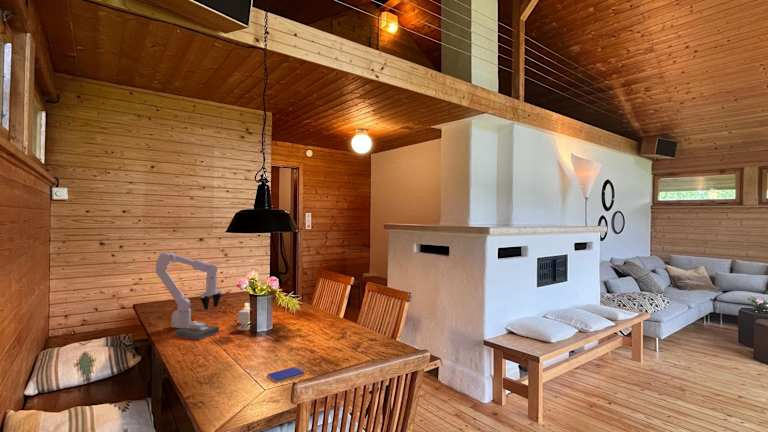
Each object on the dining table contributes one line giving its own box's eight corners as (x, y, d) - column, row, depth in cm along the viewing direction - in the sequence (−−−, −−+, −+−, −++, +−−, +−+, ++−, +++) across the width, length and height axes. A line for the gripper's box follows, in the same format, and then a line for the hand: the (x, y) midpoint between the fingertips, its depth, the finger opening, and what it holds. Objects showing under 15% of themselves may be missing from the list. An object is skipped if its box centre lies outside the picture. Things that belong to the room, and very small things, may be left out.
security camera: (252, 327, 226) (253, 309, 226) (247, 330, 219) (247, 312, 219) (242, 326, 227) (242, 309, 227) (236, 329, 220) (236, 312, 220)
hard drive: (295, 366, 166) (267, 373, 158) (304, 372, 160) (276, 380, 152) (294, 369, 166) (267, 377, 158) (304, 376, 160) (275, 384, 152)
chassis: (174, 336, 206) (175, 330, 206) (195, 329, 219) (195, 323, 219) (199, 339, 201) (199, 334, 201) (218, 332, 214) (218, 326, 214)
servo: (208, 333, 211) (208, 322, 211) (202, 335, 207) (203, 323, 207) (191, 330, 214) (192, 319, 214) (186, 333, 210) (186, 321, 210)
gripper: (207, 287, 222) (207, 311, 222) (225, 283, 236) (225, 305, 236) (197, 286, 224) (197, 310, 224) (216, 282, 238) (215, 304, 238)
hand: (210, 307), depth 230 cm, fingers open, 7 cm apart
